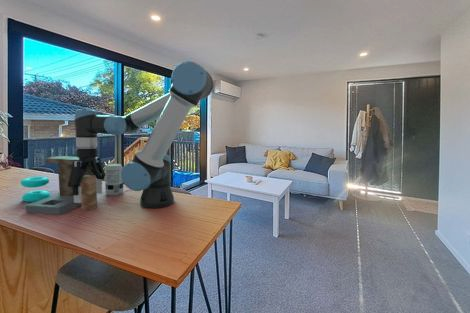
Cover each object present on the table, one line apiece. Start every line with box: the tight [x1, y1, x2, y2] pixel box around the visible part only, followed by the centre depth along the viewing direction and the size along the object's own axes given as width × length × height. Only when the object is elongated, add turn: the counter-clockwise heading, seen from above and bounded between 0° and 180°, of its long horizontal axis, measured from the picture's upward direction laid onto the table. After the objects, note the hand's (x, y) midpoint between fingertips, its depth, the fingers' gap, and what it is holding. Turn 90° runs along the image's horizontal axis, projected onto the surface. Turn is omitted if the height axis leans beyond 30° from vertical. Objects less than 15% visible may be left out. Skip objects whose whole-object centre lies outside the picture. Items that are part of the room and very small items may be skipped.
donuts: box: [20, 176, 51, 203], centre depth 110 cm, size 10×10×10 cm
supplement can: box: [104, 163, 124, 196], centre depth 123 cm, size 8×8×15 cm
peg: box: [81, 175, 98, 211], centre depth 101 cm, size 4×4×14 cm
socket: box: [25, 194, 82, 216], centre depth 101 cm, size 14×14×3 cm
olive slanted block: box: [45, 155, 94, 196], centre depth 110 cm, size 16×8×20 cm, turn 86°
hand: (88, 197), depth 102 cm, fingers open, 12 cm apart
